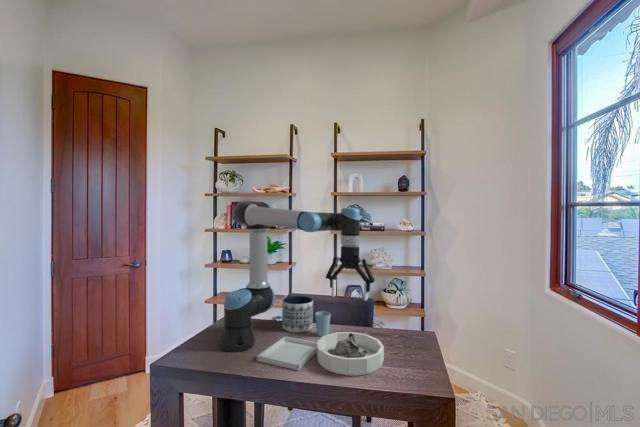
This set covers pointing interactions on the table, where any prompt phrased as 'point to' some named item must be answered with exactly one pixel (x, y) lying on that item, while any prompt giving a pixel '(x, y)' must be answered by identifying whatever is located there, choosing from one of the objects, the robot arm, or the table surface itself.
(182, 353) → the table surface
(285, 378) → the table surface
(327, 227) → the robot arm
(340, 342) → the decorative stone
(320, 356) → the bowl
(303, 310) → the planter
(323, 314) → the cup
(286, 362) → the tray
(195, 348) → the table surface
